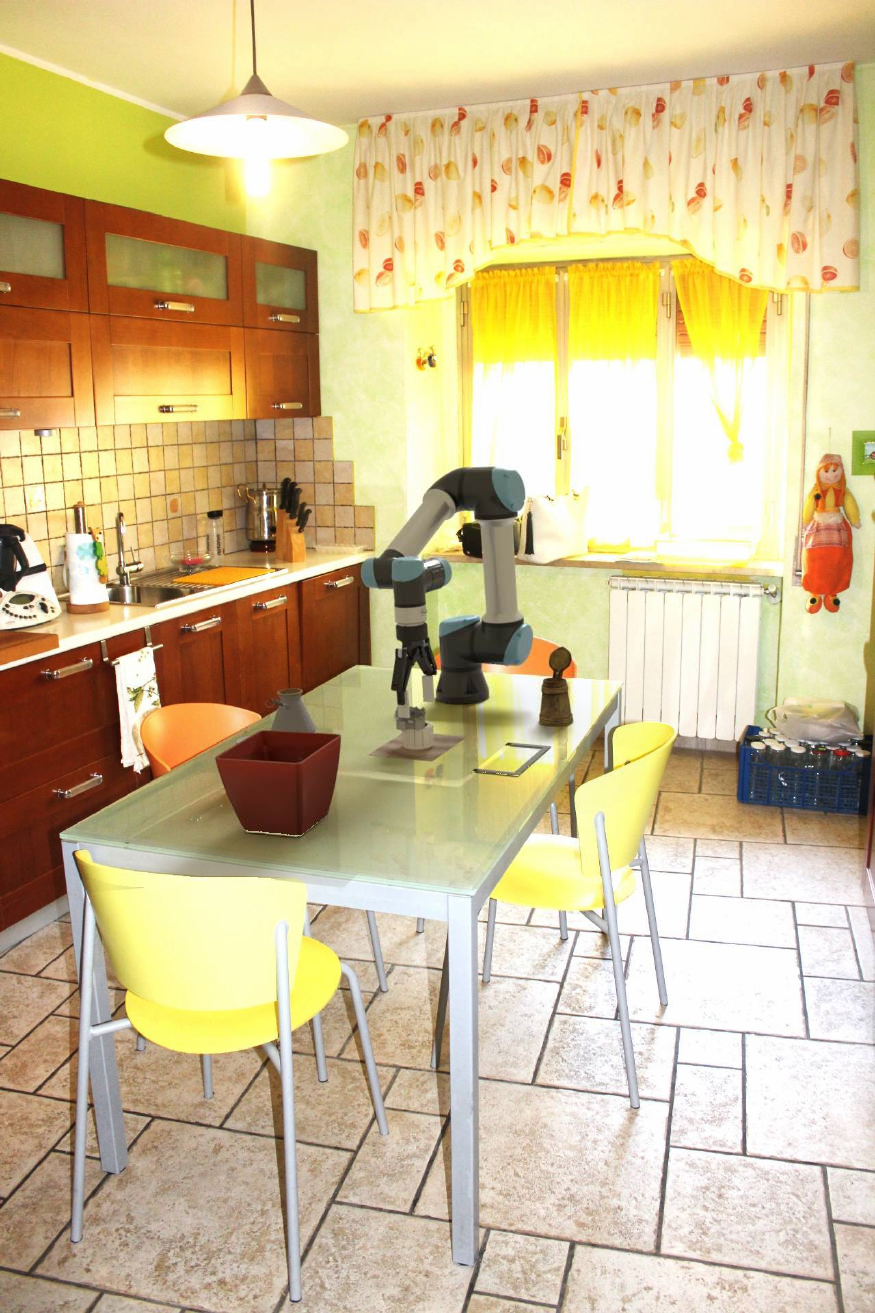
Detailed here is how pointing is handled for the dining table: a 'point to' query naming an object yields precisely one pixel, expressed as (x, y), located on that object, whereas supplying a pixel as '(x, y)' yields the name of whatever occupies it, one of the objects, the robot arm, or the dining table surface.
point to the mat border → (525, 765)
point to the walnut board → (397, 750)
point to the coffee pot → (291, 713)
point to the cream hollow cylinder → (418, 738)
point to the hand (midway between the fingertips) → (416, 709)
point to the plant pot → (281, 779)
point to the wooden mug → (556, 691)
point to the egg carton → (411, 719)
